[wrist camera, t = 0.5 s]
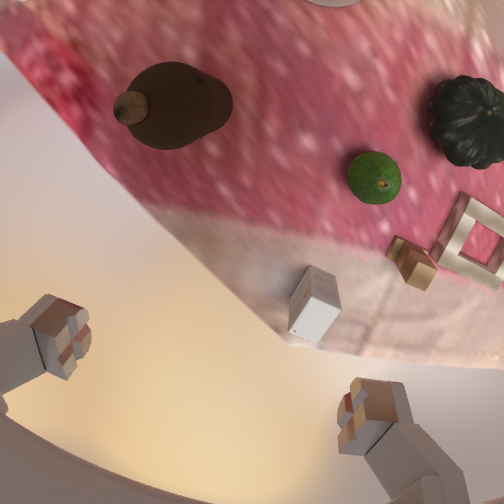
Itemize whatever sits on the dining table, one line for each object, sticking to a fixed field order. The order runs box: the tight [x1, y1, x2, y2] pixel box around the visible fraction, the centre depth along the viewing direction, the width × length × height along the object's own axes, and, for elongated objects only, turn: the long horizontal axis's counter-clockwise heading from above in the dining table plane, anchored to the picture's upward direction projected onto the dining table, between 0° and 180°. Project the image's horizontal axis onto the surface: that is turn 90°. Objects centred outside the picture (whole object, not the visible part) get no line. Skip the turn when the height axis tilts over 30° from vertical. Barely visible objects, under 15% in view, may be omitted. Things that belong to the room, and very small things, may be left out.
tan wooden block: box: [386, 236, 438, 291], centre depth 49 cm, size 4×7×9 cm, turn 71°
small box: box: [288, 266, 342, 344], centre depth 54 cm, size 8×6×10 cm
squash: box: [427, 75, 504, 170], centre depth 37 cm, size 14×15×15 cm
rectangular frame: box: [430, 191, 504, 292], centre depth 48 cm, size 13×17×4 cm
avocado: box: [347, 151, 401, 205], centre depth 43 cm, size 8×8×12 cm
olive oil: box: [114, 62, 233, 150], centre depth 36 cm, size 11×11×25 cm
